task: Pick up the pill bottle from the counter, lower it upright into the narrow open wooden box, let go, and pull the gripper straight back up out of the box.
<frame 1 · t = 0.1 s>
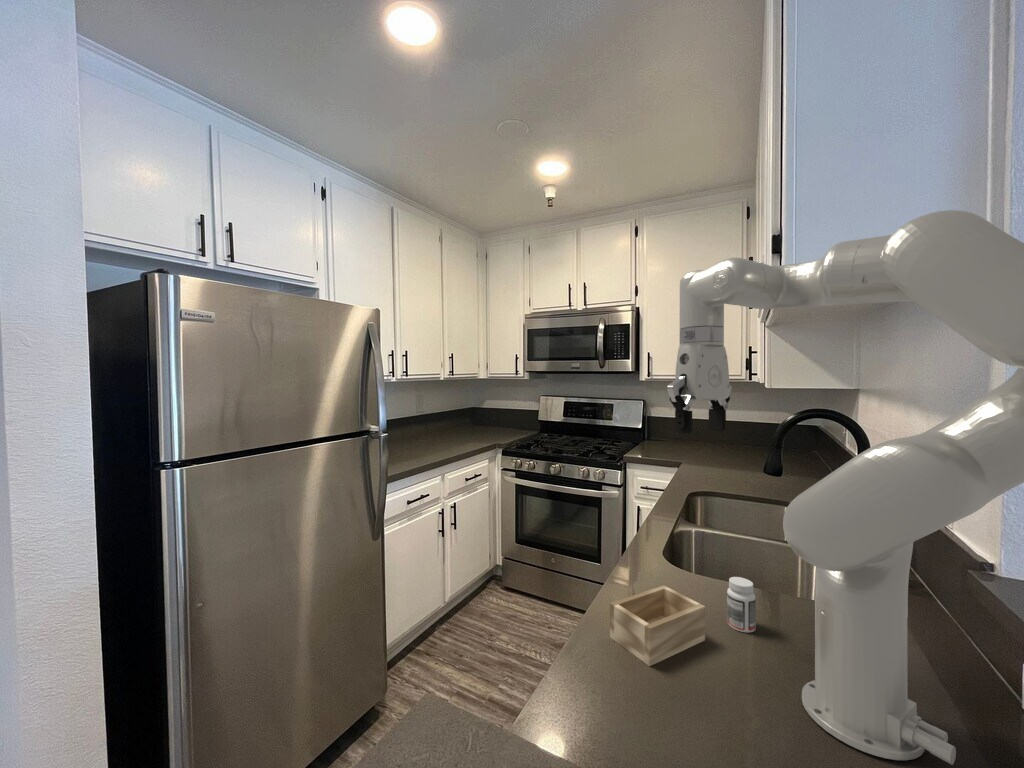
hand: (700, 431, 77), 37 cm above the worktop, tool pointing down, fingers open, 9 cm apart
open wooden box: (657, 638, 74), on the worktop
pill bottle: (741, 627, 78), on the worktop
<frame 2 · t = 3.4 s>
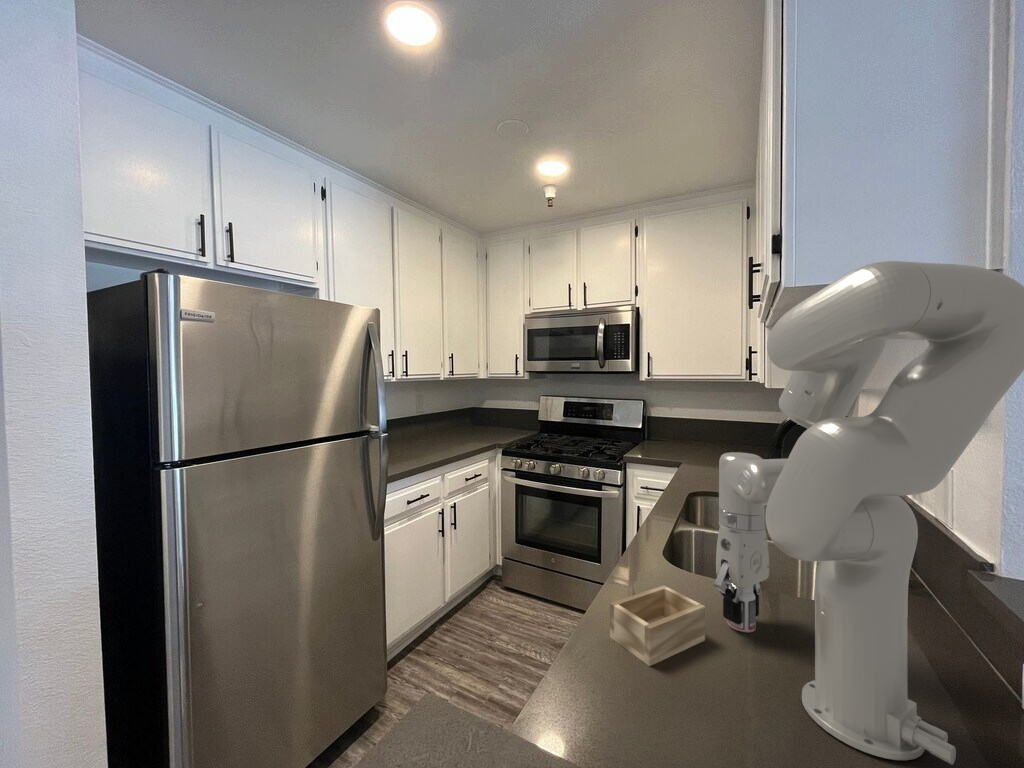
hand: (741, 615, 78), 2 cm above the worktop, tool pointing down, fingers closed on pill bottle, 4 cm apart
pill bottle: (741, 626, 78), on the worktop, touching gripper
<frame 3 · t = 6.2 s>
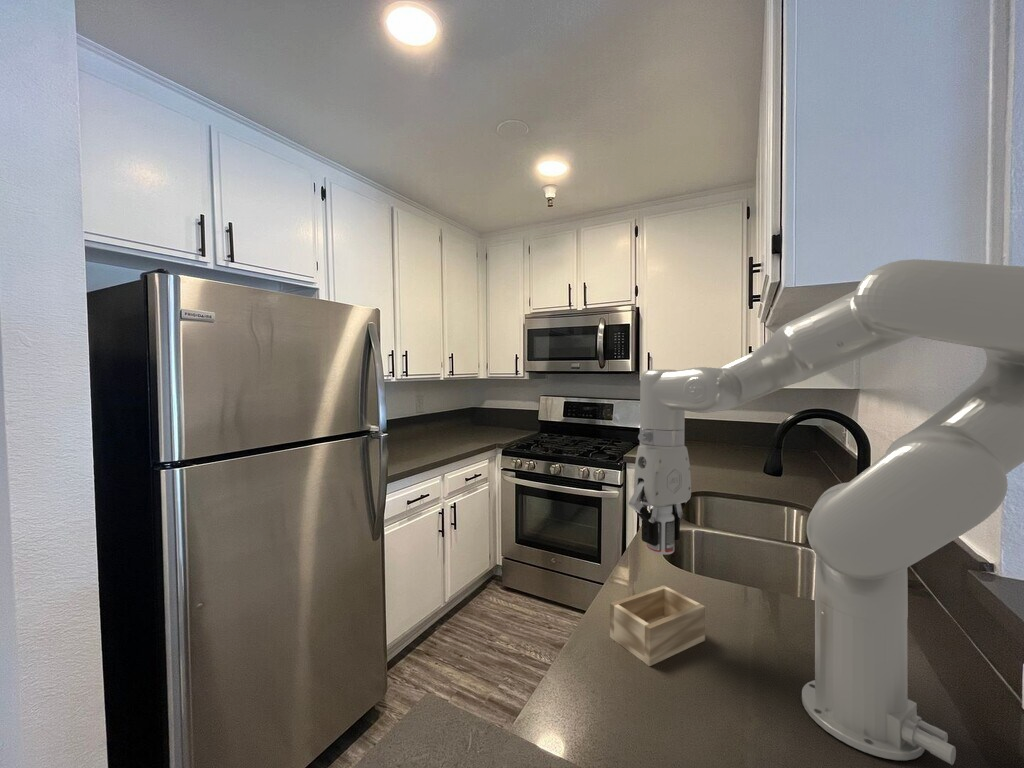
hand: (660, 539, 74), 17 cm above the worktop, tool pointing down, fingers closed on pill bottle, 4 cm apart
pill bottle: (660, 551, 74), point 15 cm above the worktop, touching gripper
when the fingers open (5 cm above the worktop, at t = 9.0 s): pill bottle drops 2 cm, resting on open wooden box.
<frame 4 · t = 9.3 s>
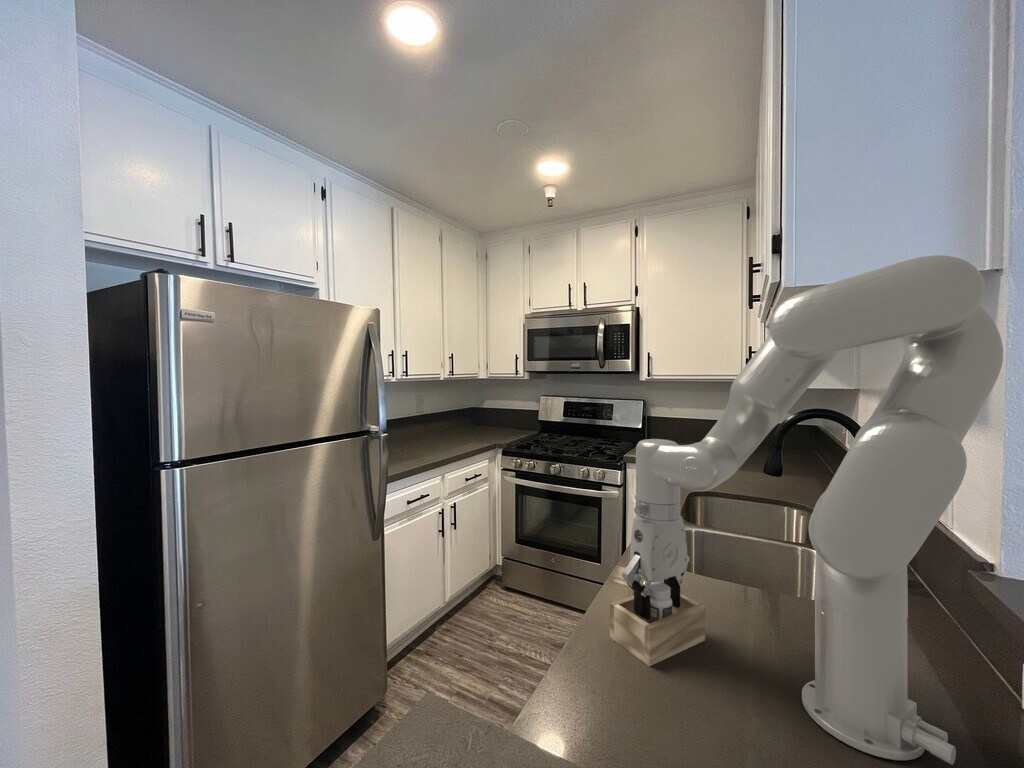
hand: (657, 609, 74), 5 cm above the worktop, tool pointing down, fingers open, 7 cm apart
pill bottle: (657, 634, 74), point 1 cm above the worktop, touching open wooden box
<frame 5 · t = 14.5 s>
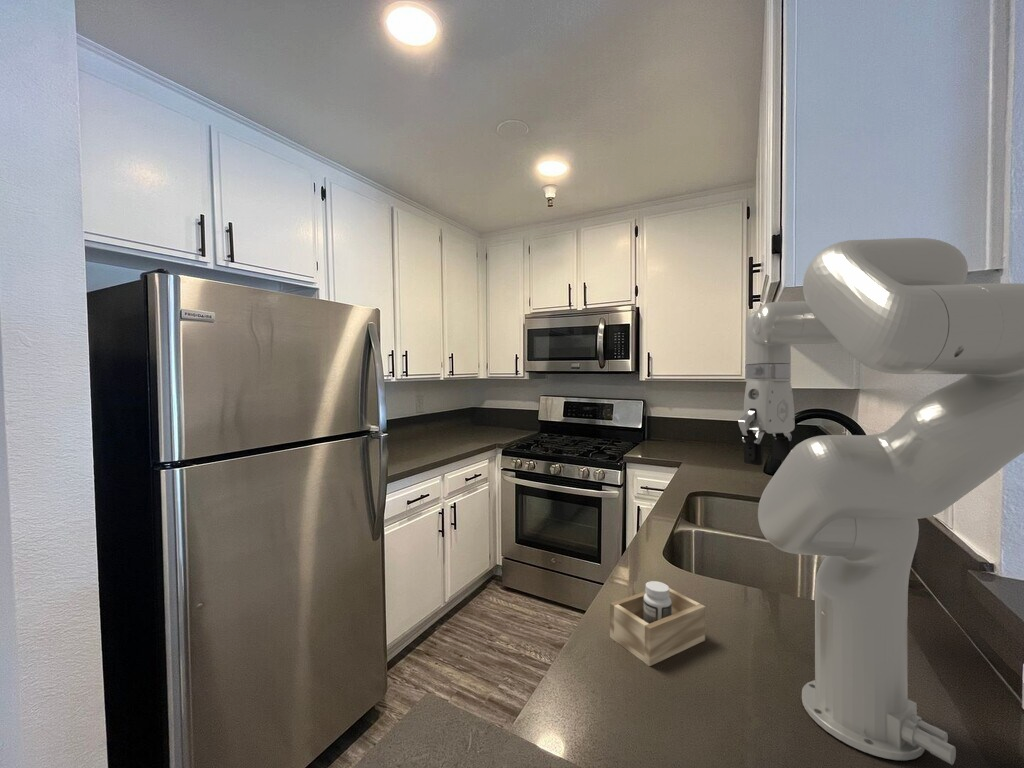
hand: (767, 461, 81), 30 cm above the worktop, tool pointing down, fingers open, 9 cm apart
nothing on the worktop moved.
at the end: pill bottle inside the target area on the open wooden box (0.1 cm from its centre), point 0.8 cm above the open wooden box's base; pill bottle tilted 0°; the gripper is holding nothing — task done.
